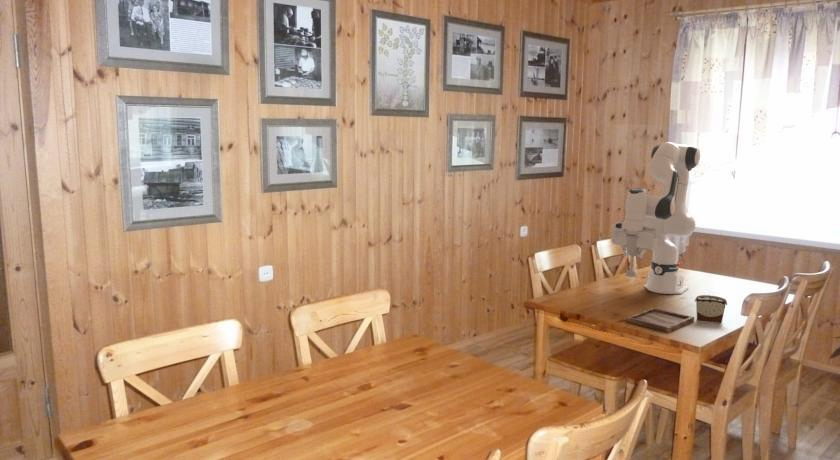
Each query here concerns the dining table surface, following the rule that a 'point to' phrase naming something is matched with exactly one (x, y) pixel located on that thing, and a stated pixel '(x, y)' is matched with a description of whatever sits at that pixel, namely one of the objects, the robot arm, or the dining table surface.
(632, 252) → the chalice
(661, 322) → the serving tray
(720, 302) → the food container
